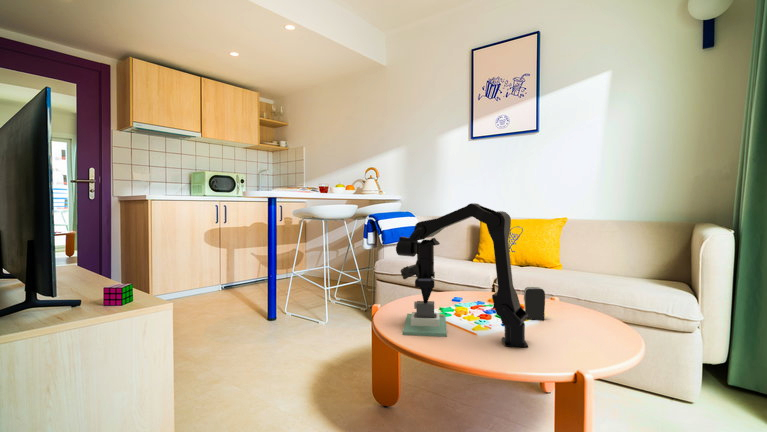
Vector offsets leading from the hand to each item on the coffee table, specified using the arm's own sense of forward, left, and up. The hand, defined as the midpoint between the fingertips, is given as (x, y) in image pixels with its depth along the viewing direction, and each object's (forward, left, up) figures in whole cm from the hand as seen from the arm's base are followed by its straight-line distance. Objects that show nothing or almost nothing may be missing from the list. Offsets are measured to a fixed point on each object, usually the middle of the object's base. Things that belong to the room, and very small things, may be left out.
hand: (425, 302), depth 128 cm
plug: (0, 0, -7) cm, 7 cm away
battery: (+13, -39, -8) cm, 42 cm away
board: (0, 0, -8) cm, 8 cm away
